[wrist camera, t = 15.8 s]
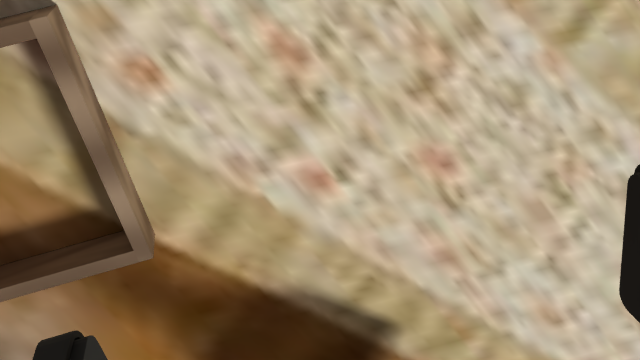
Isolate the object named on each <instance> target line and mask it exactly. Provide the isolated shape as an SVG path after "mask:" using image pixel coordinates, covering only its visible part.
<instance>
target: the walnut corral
mask: <svg viewBox="0 0 640 360" xmlns="http://www.w3.org/2000/svg"><path fill="white" fill-rule="evenodd" d="M33 39H37V40H38V42H39V44H40V47H41V49H42V51H43V53H44V55H45V58H46V60H47V62H48V64H49V66H50V69H51V71H52V73H53V75H54V77H55V79H56V82H57V84H58V86H59V88H60V90H61V93H62V95H63V97H64V99H65V101H66V104H67V106H68V108H69V110H70V112H71V115H72V117H73V119H74V121H75V123H76V125H77V128H78V130H79V132H80V134H81V136H82V139H83V141H84V143H85V145H86V147H87V150H88V152H89V154H90V156H91V158H92V160H93V163H94V165H95V167H96V169H97V171H98V174H99V176H100V178H101V180H102V182H103V185H104V187H105V189H106V191H107V193H108V195H109V198H110V200H111V202H112V204H113V206H114V209H115V211H116V213H117V215H118V217H119V220H120V222H121V224H122V226H123V228H124V231H122V232H118V233H115V234H111V235H107V236H104V237H100V238H97V239H93V240H90V241H86V242H83V243H79V244H76V245H72V246H69V247H65V248H62V249H58V250H55V251H51V252H48V253H44V254H40V255H37V256H33V257H30V258H26V259H23V260H19V261H16V262H12V263H9V264H5V265H2V266H0V302H3V301H6V300H10V299H13V298H16V297H20V296H23V295H27V294H30V293H34V292H37V291H41V290H44V289H48V288H51V287H55V286H58V285H62V284H65V283H69V282H72V281H75V280H79V279H82V278H86V277H89V276H93V275H96V274H100V273H103V272H107V271H110V270H114V269H117V268H121V267H124V266H128V265H131V264H134V263H138V262H141V261H145V260H148V259H152V258H153V254H154V240H155V233H154V231H153V229H152V226H151V224H150V222H149V219H148V217H147V215H146V212H145V210H144V208H143V205H142V203H141V201H140V198H139V196H138V194H137V191H136V189H135V186H134V184H133V182H132V179H131V177H130V175H129V172H128V170H127V168H126V165H125V163H124V161H123V158H122V156H121V154H120V151H119V149H118V147H117V144H116V142H115V140H114V137H113V135H112V132H111V130H110V128H109V125H108V123H107V121H106V118H105V116H104V114H103V111H102V109H101V107H100V104H99V102H98V100H97V97H96V95H95V93H94V90H93V88H92V86H91V83H90V81H89V78H88V76H87V74H86V71H85V69H84V67H83V64H82V62H81V60H80V57H79V55H78V53H77V50H76V48H75V46H74V43H73V41H72V39H71V36H70V34H69V32H68V29H67V27H66V25H65V22H64V20H63V17H62V15H61V13H60V10H59V8H58V6H57V5H54V6H50V7H46V8H42V9H38V10H34V11H30V12H26V13H22V14H18V15H14V16H10V17H6V18H2V19H0V48H1V47H5V46H9V45H13V44H17V43H21V42H25V41H29V40H33Z"/></svg>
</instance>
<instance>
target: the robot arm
mask: <svg viewBox="0 0 640 360" xmlns="http://www.w3.org/2000/svg"><path fill="white" fill-rule="evenodd" d="M619 291H620V297H621V300H622V302H623V304H624V306H625V308H626V309H627V310H628V311H629V313H630V314H631V315H632V316H633V317H634V318H635V319H636V320H637V321H638V322H639V323H640V165H638V166H637V168H636V169H635V172H634V175H632V176H630V178H629V180H628V185H627V198H626V211H625V224H624V237H623V250H622V263H621V275H620V288H619ZM33 360H108V359H107V358H106V356H105V354H104V352H103V350H102V349H101V347H100V345H99V343H98V341H97V340H96V338H95V337H94V336H87V337H84V336H83V335H82V333H81V332H79V331H72V332H68V333H65V334H62V335H58V336H55V337H51V338H48V339H45V340H42V341H40V342H39V343H38V345H37V347H36V350H35V354H34V357H33Z"/></svg>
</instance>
